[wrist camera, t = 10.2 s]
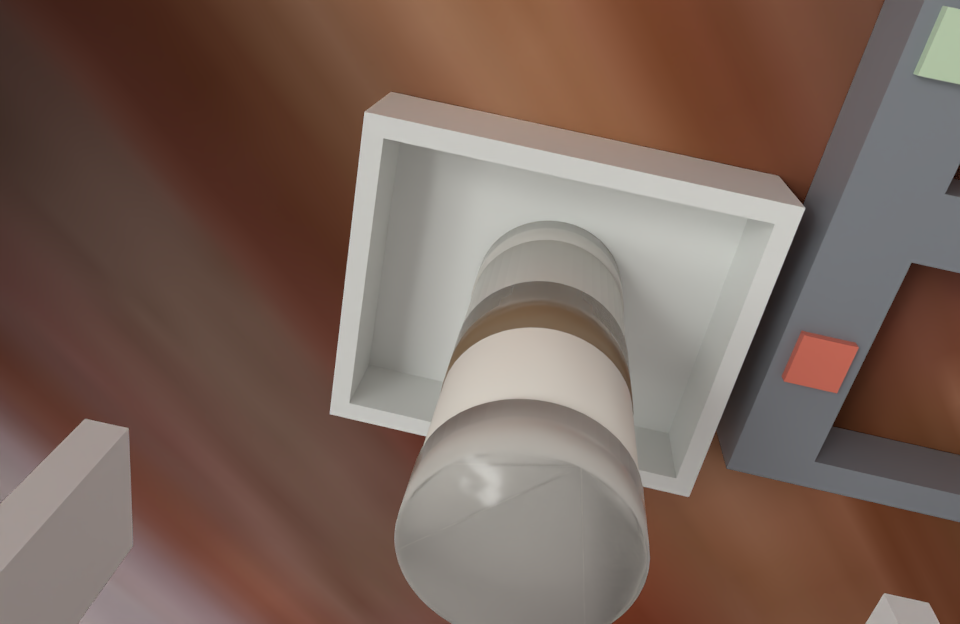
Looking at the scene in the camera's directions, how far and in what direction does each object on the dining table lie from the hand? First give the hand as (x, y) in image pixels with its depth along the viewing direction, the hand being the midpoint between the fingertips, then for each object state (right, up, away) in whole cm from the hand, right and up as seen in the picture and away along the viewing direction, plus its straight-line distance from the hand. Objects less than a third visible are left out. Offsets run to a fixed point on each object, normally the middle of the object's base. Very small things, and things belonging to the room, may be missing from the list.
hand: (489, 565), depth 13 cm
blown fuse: (+2, +5, +11) cm, 13 cm away
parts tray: (+2, +6, +12) cm, 13 cm away
